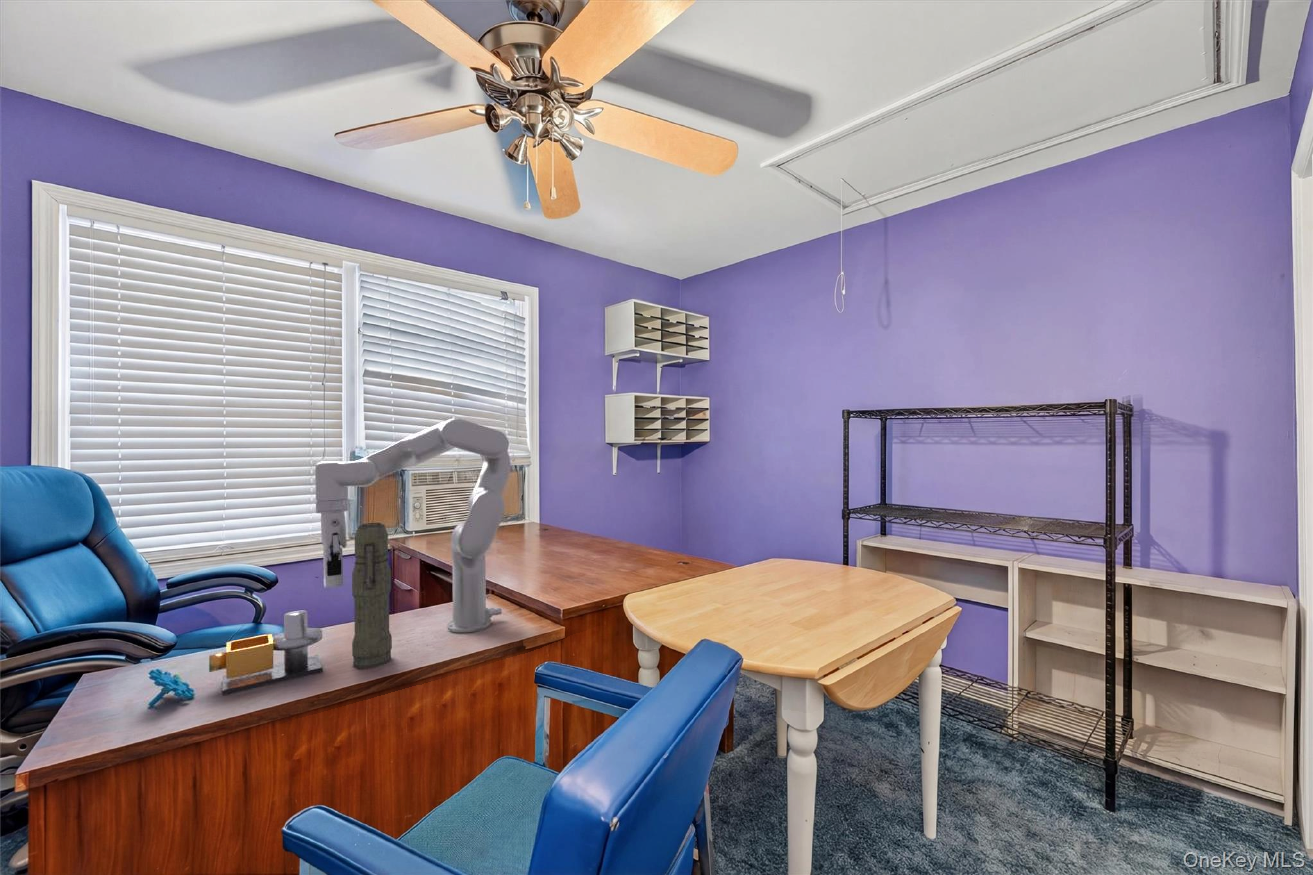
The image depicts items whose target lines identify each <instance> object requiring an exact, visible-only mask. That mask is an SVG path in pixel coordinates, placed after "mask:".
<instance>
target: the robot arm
mask: <svg viewBox="0 0 1313 875" xmlns="http://www.w3.org/2000/svg"><path fill="white" fill-rule="evenodd" d="M509 447H510V442H509V438H508V436H507V435H506V434H505V433H503V432H502V431H501V430H497V429H494V428H491V427H488V426H485V425H481V424H478V423H474V422H471V421H469V420H465V419H462V418H456V417H453V418H449V419H446V420H444V421H441V422H440V423H437V424H435V425H432V426H429V427H428V428H425V429H423V430H421V431H418V432H416V433H414V434H412V435H408V436H407V437H405V438H403V439H401V440H399V441H397V442H395V443H393V444H392V445H389V446H388V447H385V448H384V449H382V450H379V451H377V452H374V453H371V454H370V455H368V456H365V457H363V458H360V459H358V460H352V461H341V460H339V461H338V460H329V461H320V462H318V463H316V465H315V469H314V471H315V473H314V474H315V479H314V480H315V481H314V482H315V514H320V529H321V532H320V533H321V534H320V535H321V543H322V544H321V545H322V546H323V548H325V549H327V550H328V561H327V575H328V576H335V575H340V574H341V553H340V547H341V548H342V549H345V548H347V547H348V542H347V524H346V515H345V514H346V513H345V512H348V511H349V487H356V488H357V487H359V488H365V487H369V486H372V485H373V484H375V482H377V481H378V480H379V479H380V480H381V479H382V478H384V477H387V476H389V475H391V474H394V473H395V472H398V471H400V470H403V469H406V468H410V467H414V466H418V465H420V464H422V463H425V462H427V461H429V460H431V459H433V458H435V457H438V456H440V455H442V454H444V453H446V452H448V451H451V450H453V449H460V450H462V451H464V452H469V453H473V454H476V455H479V456H480V457H481V460H482V468H481V469H480V473H479V475H478V479H477V480H476V484H475V486H474V488H473V490H472V493H471V494H470V496H469V498H468V501H467V510H468V514H467V517H466V518H465V521H462V522H460V523H459V524H457V525H456V526H455V527H454V529H453V531H452V533H451V537H450V545H451V562H452V563H451V565H452V620H451V621H450V622H448V623H447V626H446V628H447V630H448V631H449V632H453V633H465V634H466V633H473V632H477V631H478V632H479V631H481V630H484V629H487V628H488V627H490V626H491V625H492V617H493V616H500V615H502V612H503V610H502V608H501V607H499V608H494V607H492V608H488V607H487V598H486V597H487V596H486V593H487V592H486V591H487V590H486V583H487V582H486V577H487V576H486V574H487V573H486V572H487V571H486V570H487V568H486V554H487V552H488V551H489V549H490V547H491V546H492V544H493V542H494V540H495V536H496V534H497V533H498V532H497V531H498V529H499V528H500V524H501V523H502V520H503V517H504V513H505V510H506V509H505V508H506V504H505V503H506V502H505V499H504V497H503V495H504V494H503V493H504V491H505V488H506V487H507V483H508V479H509V477H510V473H511V469H512V468H511V466H512V465H511V458H510V454H509V452H508V451H509ZM332 547H333V549H330V548H332ZM331 551H333V552H332V553H331Z"/></svg>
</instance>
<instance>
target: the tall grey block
mask: <svg viewBox="0 0 1313 875" xmlns="http://www.w3.org/2000/svg"><path fill="white" fill-rule="evenodd" d="M330 549H333V547H332V548H330ZM322 550H323V552H322V554H323V557H322V558H323V561H322V562H323V564H322V565H323V586H324V588H325V589H329V588H334V587H341V586H342V587H343V585H344V575H343V571H344V569H343V568H344V567H343V559H344V558H343V547H342V546H340V553H341V574H340V575H335V576H328V575H327V561H328V550H327V549H325V548H324V547H323V549H322ZM332 552H333V551H331V553H332Z"/></svg>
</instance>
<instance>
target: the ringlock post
mask: <svg viewBox="0 0 1313 875" xmlns="http://www.w3.org/2000/svg"><path fill="white" fill-rule="evenodd" d="M308 615H309V614H308V611H307V610H301V609H300V610H294V611H289V612H286V613H284V615H283V632H281V633H278V634H275V635H273V634H272V633H270V634H262V635H257V636H253V637H252V636H251V637H246V638H241V639H236V640H231V641H228V642H227V641H226V649H225V650H226V651H225V652H221V653H216V654H211V655H208V656H209V658H208V659H209V663H208V667H209V668H208V669H209V671H208V672H209V673H211V672H216V671H217V672H218V671H222V670H225V674H224V675H222V688H221V690H222V691H221V692H222V693H221V695H222V696H225V695H230V694H233V693H238V692H242V691H246V690H250V689H254V688H258V687H263V686H267V685H271V684H277V683H280V682H284V681H288V680H292V679H296V678H300V677H304V676H305V677H306V676H308V675H309V674H310V675H314V674H319V673H322V672H323V671H324V670H323V669H324V668H323V665H322V662H321V660H320V658H319V655H318V654H317V655H316V654H315V655H311V656H309V650H308V649H309V648H308V647H310V646H311V645H314V644H316V643H318V642H320V641H321V640H322V639H323V630H322V629H321V628H319V627H318V628H315V627H308V626H309V625H308V624H309V622H308V619H309V618H308ZM274 651H278V652H279V651H280V652H282V651H284V652H283V654H284V655H283V660H284V661H283V662H280V663H274Z"/></svg>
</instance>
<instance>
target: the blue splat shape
mask: <svg viewBox="0 0 1313 875" xmlns="http://www.w3.org/2000/svg"><path fill="white" fill-rule="evenodd" d="M148 675H149V677H148V678H149V680H152V681H154V682H153V684H154V685H155V686H157V687H162V688H160V692H159V693H158V694H157V695H156V696H155V697H153V699H152V700H151V701H150V702H148V704H147V705H148V706H149V707H151V708H152V707H154V706H155V705H156V704H157V703H158V702H160V701H161V699H162V698H163V697H165V695H168V694H170V692H173V695H172V696H175V697H176V698H181V697H182V698H183V699H184V700H189V699H193V697H195V695H196V693H195V689H194V688H192V687H191V686H190V684H189V683H188V682H186V681H182V678H180V675H178V674H174V675H173V676H171V675H172V673H170V671H167V670H165V671H164V672H163V670H162V669H159V668H156V669H152V670H150V671H149V672H148Z"/></svg>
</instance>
